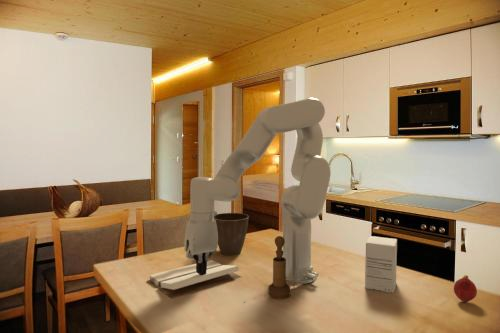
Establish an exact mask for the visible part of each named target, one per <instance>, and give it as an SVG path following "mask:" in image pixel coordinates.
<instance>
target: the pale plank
mask: <svg viewBox="0 0 500 333" xmlns="http://www.w3.org/2000/svg"><path fill="white" fill-rule="evenodd" d="M239 271H240V269H239V265H229V264H228V265H227V264H221V266H218V267H215V268H211V269H207V270H206V274H205V275H204V274H203V275H200V274H198V273H197V272H196V273H192V274H189V275H185V276H181V277H178V278H174V279H170V280H167V281H163V282H161V287H162V288H167V289H173V290H174V289H178V288H181V287H185V286H188V285H192V284H195V283H198V282H202V281H205V280H209V279H212V278H215V277H219V276H222V275H226V274H229V273H235V272H236V273H237V272H239Z"/></svg>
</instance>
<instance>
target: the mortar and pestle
mask: <svg viewBox="0 0 500 333" xmlns="http://www.w3.org/2000/svg"><path fill="white" fill-rule="evenodd" d="M284 243H285V240H284V238H283V235H282V236H281V235H280V236H276V237H275V238H274V244H275V247H277V249H276V250H275V254H276V257H273V258H272V260H273V261H272V283H271V284H270V285H269V286H268V292H267V293H268V297H270V298H272V299H277V300H283V299H287V298H289V297H290V296H291V286H290V285H289V284H288V283H287V282H286V281H287V280H286V259H285V258H283V245H284Z"/></svg>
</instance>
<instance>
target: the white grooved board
mask: <svg viewBox="0 0 500 333" xmlns="http://www.w3.org/2000/svg"><path fill="white" fill-rule="evenodd" d="M218 266H222V264H221V263H219V262H217V261H215V260H214V259H209V260H208V262H207V269H211V268H215V267H218ZM196 272H197V271H196V263H193V264H189V265H184V266H181V267H177V268H173V269H169V270H166V271H165V270H164V271H161V272H156V273H154V274H150V275H149V279H148V280H147V283H149V284H151V285H152V286H153V287H155V288H156V289H158V290H159V291H160V292H161V293H162V294H165V296H167V297H168V298H170V299H171V300H172V299H175V298H178V297H181V296H185V295H188V294H191V293H193V292H197V291H200V290H204V289H207V288H210V287H214V286H217V285H220V284H224V283H227V282H229V281H233V280H236V279H239V278H242V276H241V275H239V274H237V273H235V272H233V273H229V274H226V275H222V276H219V277H215V278H212V279H209V280H205V281H202V282H198V283H195V284H192V285H188V286H185V287H181V288H178V289H174V290H173V289H167V288H162V287H161V282H163V281H167V280H170V279H174V278H178V277H181V276H185V275H189V274H192V273H196Z"/></svg>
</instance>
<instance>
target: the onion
mask: <svg viewBox="0 0 500 333" xmlns="http://www.w3.org/2000/svg"><path fill="white" fill-rule="evenodd" d="M453 293H454V295H455V296H456V297H457V298H458V299H459V300H460V301H461V302H463V303H467V302H468V303H469V302H471V301H472V300H474V299H475V298H476V297H477V295H478V289H477V287H476V284H475V283H474V282H473V281H472V280H471V279H469V275H467V274H464V275H463V277H461V278H459V279H457V280H456V281H455V283H454V285H453Z"/></svg>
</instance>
